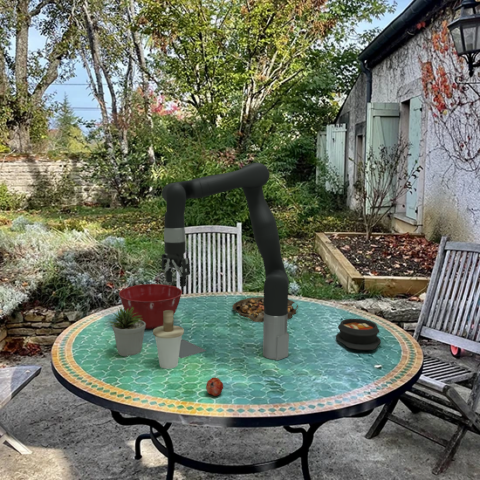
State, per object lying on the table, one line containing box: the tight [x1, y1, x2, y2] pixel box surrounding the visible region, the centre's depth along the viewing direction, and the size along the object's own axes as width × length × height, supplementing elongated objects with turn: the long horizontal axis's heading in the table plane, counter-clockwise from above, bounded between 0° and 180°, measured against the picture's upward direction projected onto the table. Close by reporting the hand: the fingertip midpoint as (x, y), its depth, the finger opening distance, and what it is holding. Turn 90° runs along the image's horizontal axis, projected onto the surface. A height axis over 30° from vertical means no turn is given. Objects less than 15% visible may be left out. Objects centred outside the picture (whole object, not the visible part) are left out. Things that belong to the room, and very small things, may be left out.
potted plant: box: [108, 307, 146, 357], centre depth 187 cm, size 13×14×20 cm
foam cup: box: [154, 335, 183, 370], centre depth 175 cm, size 10×9×13 cm
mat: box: [179, 338, 207, 359], centre depth 192 cm, size 16×12×1 cm
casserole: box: [335, 318, 382, 351], centre depth 203 cm, size 25×19×8 cm
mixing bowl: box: [118, 283, 183, 330], centre depth 221 cm, size 28×28×16 cm
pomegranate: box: [205, 376, 224, 397], centre depth 156 cm, size 6×6×8 cm
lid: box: [152, 310, 185, 338], centre depth 173 cm, size 11×11×8 cm
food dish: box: [232, 296, 299, 323], centre depth 243 cm, size 35×33×8 cm
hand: (175, 284), depth 173 cm, fingers open, 8 cm apart
